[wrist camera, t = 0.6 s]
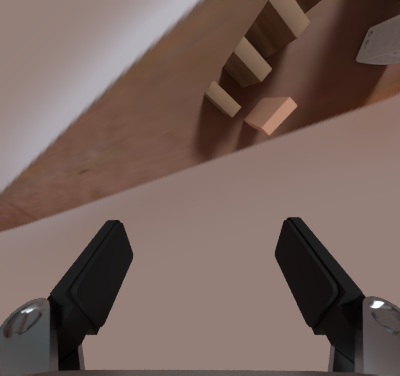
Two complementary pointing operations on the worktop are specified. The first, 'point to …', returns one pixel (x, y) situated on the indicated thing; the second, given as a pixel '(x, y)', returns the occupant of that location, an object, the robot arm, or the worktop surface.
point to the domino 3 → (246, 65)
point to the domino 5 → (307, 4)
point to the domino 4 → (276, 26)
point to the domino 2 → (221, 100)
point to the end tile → (270, 113)
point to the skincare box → (381, 44)
